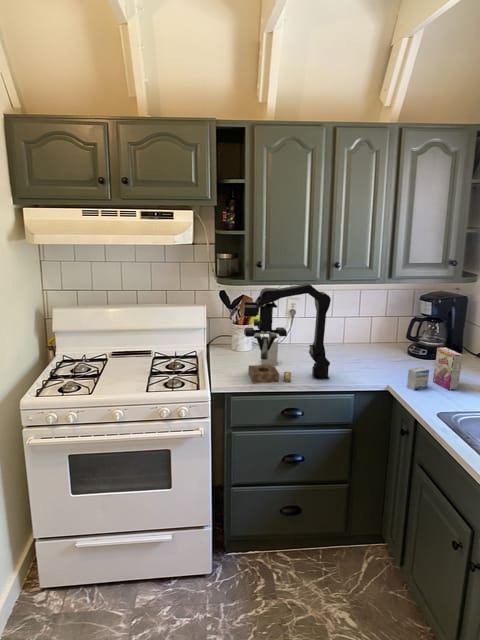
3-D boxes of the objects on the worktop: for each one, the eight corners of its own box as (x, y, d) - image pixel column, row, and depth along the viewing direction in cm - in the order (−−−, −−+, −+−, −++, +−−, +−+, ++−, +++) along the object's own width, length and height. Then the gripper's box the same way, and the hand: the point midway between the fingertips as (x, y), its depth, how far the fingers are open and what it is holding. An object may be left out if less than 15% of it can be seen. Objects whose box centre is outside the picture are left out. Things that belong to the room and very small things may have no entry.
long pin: (266, 357, 217) (267, 336, 214) (268, 359, 213) (269, 338, 211) (260, 357, 216) (260, 336, 214) (261, 359, 213) (262, 338, 211)
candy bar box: (432, 381, 216) (436, 347, 212) (441, 380, 218) (445, 346, 214) (448, 390, 206) (453, 355, 202) (458, 389, 207) (463, 354, 203)
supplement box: (275, 366, 233) (276, 341, 230) (261, 364, 234) (261, 340, 231) (277, 361, 240) (278, 337, 237) (263, 360, 241) (264, 336, 238)
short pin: (289, 379, 215) (290, 371, 214) (291, 382, 212) (291, 373, 211) (282, 379, 215) (283, 371, 214) (284, 382, 212) (284, 374, 211)
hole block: (273, 372, 223) (273, 364, 222) (278, 382, 212) (279, 373, 211) (248, 373, 222) (248, 365, 221) (252, 383, 210) (252, 374, 209)
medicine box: (413, 390, 205) (415, 372, 203) (406, 387, 209) (408, 368, 207) (427, 388, 208) (429, 369, 206) (420, 384, 212) (422, 366, 210)
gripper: (282, 312, 219) (280, 344, 223) (242, 312, 216) (241, 345, 220) (288, 318, 208) (286, 352, 212) (246, 318, 206) (245, 352, 210)
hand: (264, 350), depth 214 cm, fingers closed on long pin, 3 cm apart
